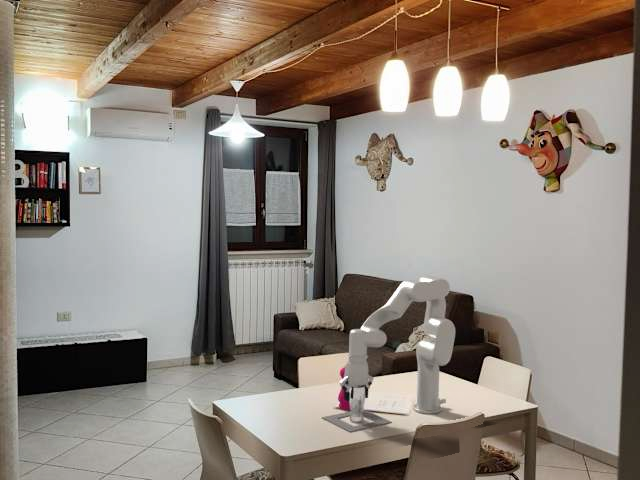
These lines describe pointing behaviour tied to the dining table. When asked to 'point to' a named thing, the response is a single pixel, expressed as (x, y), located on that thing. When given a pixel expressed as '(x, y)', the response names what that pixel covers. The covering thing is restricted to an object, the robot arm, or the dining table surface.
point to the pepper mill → (343, 403)
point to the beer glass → (357, 403)
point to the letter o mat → (336, 421)
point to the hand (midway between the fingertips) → (355, 398)
